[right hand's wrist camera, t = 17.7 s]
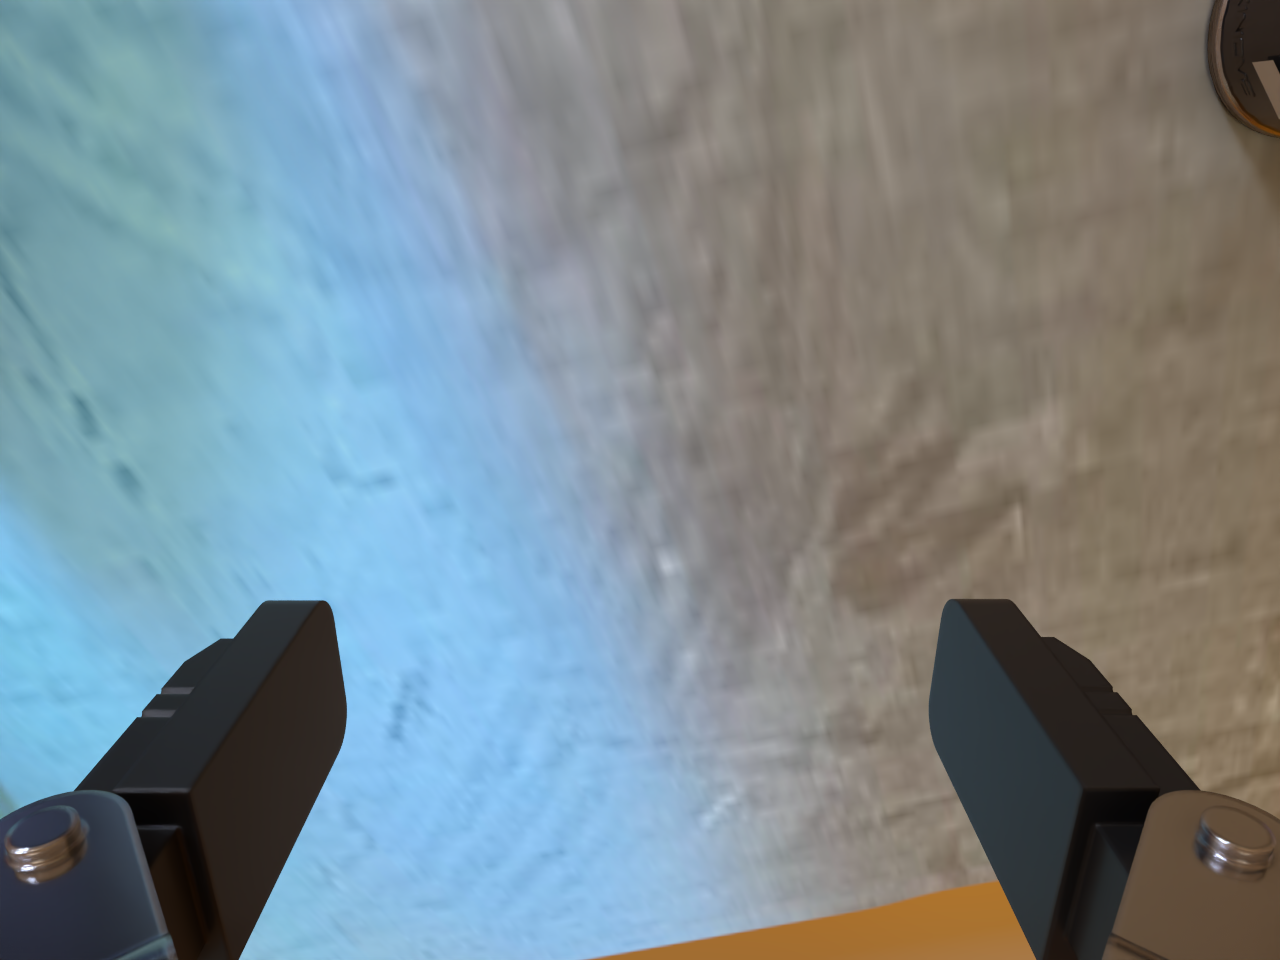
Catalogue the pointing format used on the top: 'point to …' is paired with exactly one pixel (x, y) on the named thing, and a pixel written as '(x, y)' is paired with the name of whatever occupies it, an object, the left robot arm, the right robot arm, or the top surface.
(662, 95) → the top surface
